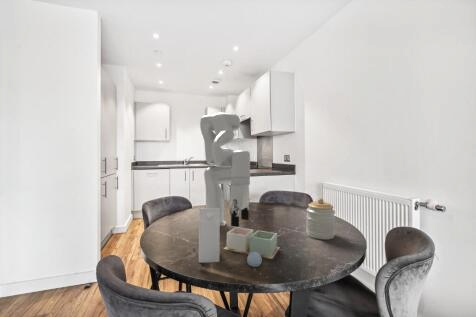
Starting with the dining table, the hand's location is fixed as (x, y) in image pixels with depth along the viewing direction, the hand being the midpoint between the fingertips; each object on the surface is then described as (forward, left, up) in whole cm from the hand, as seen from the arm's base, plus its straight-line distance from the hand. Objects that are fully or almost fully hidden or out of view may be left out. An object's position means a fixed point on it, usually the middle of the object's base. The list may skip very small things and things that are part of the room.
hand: (240, 222), depth 92 cm
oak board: (+5, 0, -11) cm, 12 cm away
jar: (+28, +31, -11) cm, 43 cm away
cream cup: (0, 0, -9) cm, 9 cm away
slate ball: (+11, -12, -11) cm, 19 cm away
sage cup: (+10, 0, -9) cm, 14 cm away
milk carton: (-6, -14, -11) cm, 19 cm away
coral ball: (0, 0, -9) cm, 9 cm away
